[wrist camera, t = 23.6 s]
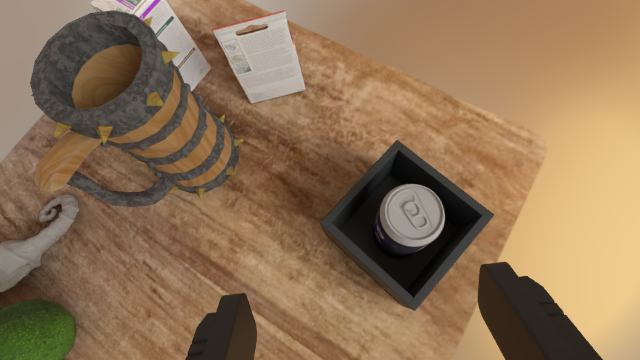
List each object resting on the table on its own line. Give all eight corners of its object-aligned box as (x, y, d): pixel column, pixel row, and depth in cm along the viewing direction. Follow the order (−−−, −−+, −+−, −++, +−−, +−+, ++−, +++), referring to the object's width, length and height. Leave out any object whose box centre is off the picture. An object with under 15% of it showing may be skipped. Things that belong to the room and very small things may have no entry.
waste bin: (466, 229, 40) (494, 214, 32) (402, 305, 38) (415, 311, 30) (388, 167, 43) (397, 139, 35) (326, 235, 42) (319, 222, 33)
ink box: (246, 84, 49) (204, 3, 35) (301, 70, 49) (280, -17, 35) (251, 106, 48) (209, 32, 34) (306, 92, 48) (287, 11, 34)
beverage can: (403, 201, 41) (422, 167, 30) (431, 242, 40) (463, 223, 28) (363, 225, 41) (367, 200, 29) (389, 267, 39) (404, 259, 28)
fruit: (68, 283, 43) (-36, 282, 31) (108, 327, 41) (13, 343, 29) (18, 338, 41) (-110, 358, 30) (57, 386, 39) (-64, 427, 28)
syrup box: (213, 68, 50) (160, -15, 36) (187, 98, 49) (122, 25, 35) (185, 50, 52) (123, -35, 38) (159, 80, 50) (86, 2, 37)
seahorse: (41, 168, 47) (-106, 292, 40) (72, 202, 40) (-96, 356, 34) (72, 188, 51) (-56, 304, 44) (105, 223, 44) (-39, 364, 38)
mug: (266, 137, 46) (204, 32, 27) (192, 250, 42) (61, 221, 23) (191, 98, 49) (88, -21, 30) (116, 201, 45) (-56, 140, 26)
